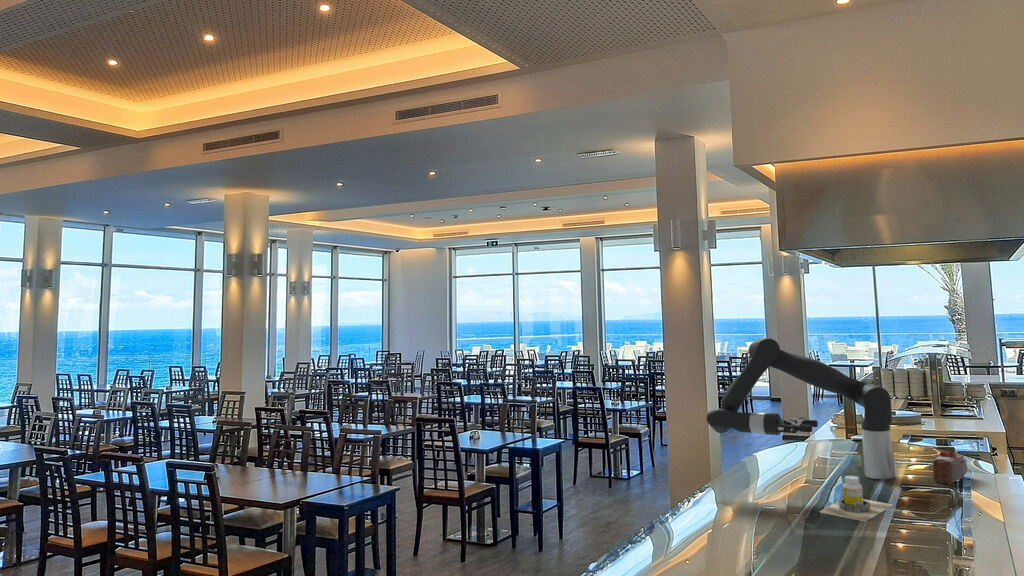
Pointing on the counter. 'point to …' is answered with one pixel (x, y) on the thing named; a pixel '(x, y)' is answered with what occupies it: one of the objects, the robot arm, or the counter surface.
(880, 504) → the serving board
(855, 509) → the bottle collar
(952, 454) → the food item
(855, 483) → the supplement bottle
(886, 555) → the counter surface
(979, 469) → the counter surface
